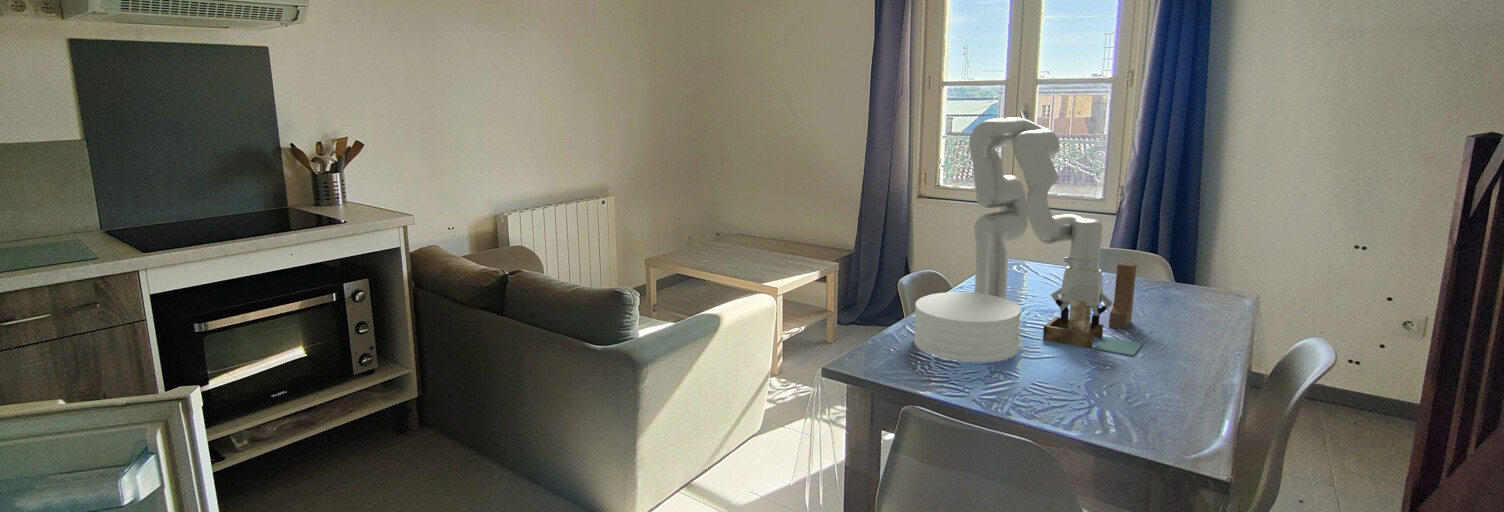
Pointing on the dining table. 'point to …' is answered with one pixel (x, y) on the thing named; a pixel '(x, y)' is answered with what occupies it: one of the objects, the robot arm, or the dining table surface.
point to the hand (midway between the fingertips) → (1079, 325)
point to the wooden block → (1123, 295)
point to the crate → (1070, 333)
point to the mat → (1118, 346)
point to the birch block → (1079, 316)
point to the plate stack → (967, 326)
